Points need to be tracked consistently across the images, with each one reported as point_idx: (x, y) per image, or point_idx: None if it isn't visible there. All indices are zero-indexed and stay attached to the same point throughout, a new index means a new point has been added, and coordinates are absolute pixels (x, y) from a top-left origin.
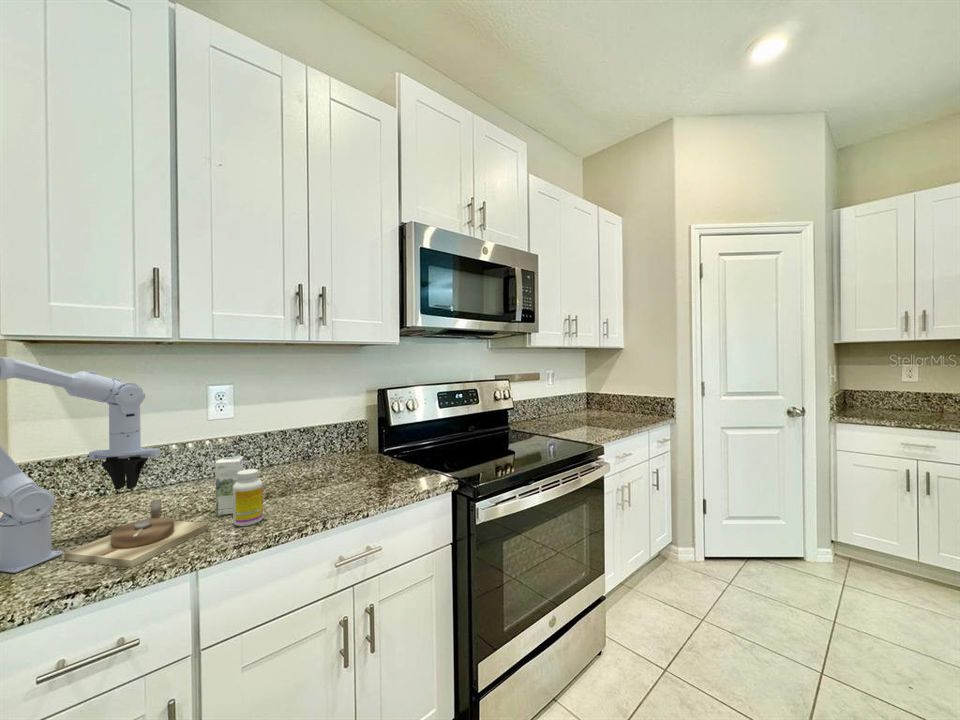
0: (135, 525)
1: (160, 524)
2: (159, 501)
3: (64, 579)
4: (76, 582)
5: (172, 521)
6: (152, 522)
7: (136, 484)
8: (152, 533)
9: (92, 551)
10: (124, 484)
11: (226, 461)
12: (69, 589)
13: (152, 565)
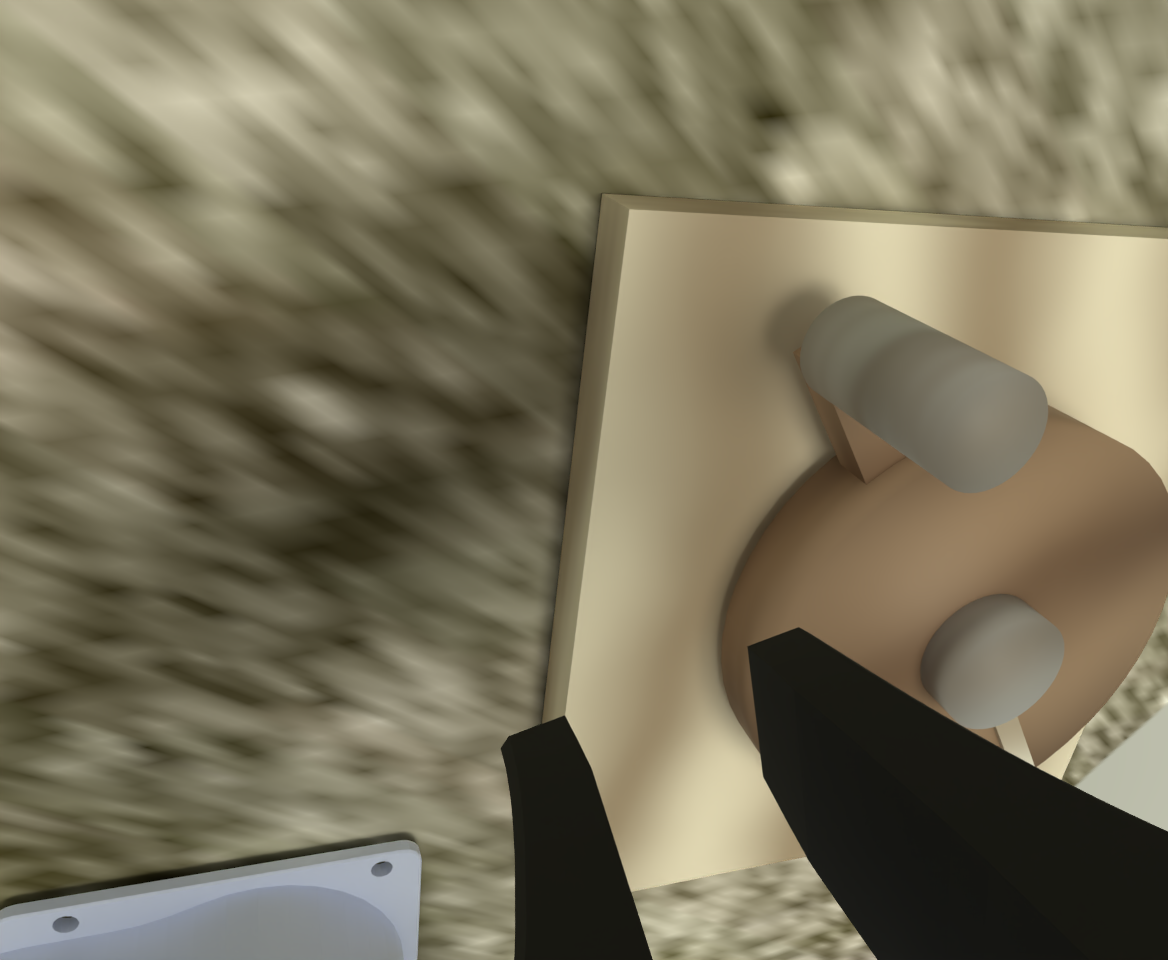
0: (971, 727)
1: (1086, 572)
2: (1037, 423)
3: (764, 938)
4: (850, 925)
5: (1153, 495)
6: (989, 557)
7: (835, 654)
8: (1107, 696)
9: (725, 834)
10: (578, 751)
11: None
12: (871, 956)
13: (1105, 724)
